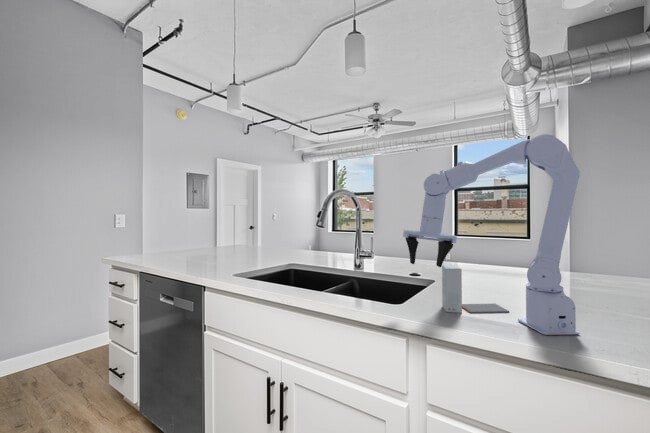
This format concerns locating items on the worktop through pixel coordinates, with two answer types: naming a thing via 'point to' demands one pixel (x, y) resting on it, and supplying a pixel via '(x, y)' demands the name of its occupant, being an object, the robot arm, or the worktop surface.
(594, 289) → the worktop surface
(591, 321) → the worktop surface
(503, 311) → the mat
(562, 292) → the robot arm
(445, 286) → the skincare box
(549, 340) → the worktop surface
